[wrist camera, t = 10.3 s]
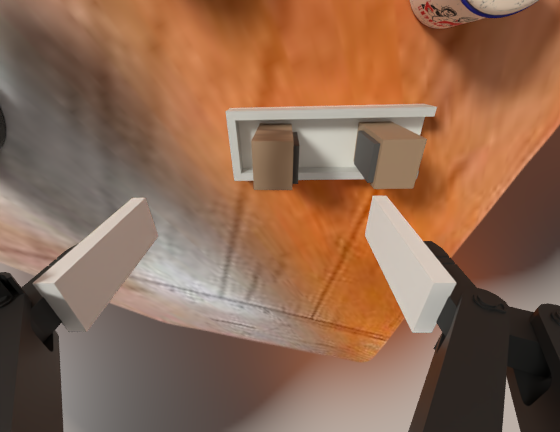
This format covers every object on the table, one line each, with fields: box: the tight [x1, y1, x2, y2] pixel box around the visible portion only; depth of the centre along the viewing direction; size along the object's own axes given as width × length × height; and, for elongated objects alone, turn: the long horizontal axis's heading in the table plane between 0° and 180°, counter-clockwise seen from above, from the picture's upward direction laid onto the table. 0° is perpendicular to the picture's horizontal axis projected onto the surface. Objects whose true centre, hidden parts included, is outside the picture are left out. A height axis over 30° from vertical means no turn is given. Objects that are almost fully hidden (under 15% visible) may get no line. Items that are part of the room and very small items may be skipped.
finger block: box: [251, 123, 300, 190], centre depth 28 cm, size 5×5×9 cm
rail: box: [226, 104, 437, 189], centre depth 28 cm, size 24×9×10 cm, turn 91°
